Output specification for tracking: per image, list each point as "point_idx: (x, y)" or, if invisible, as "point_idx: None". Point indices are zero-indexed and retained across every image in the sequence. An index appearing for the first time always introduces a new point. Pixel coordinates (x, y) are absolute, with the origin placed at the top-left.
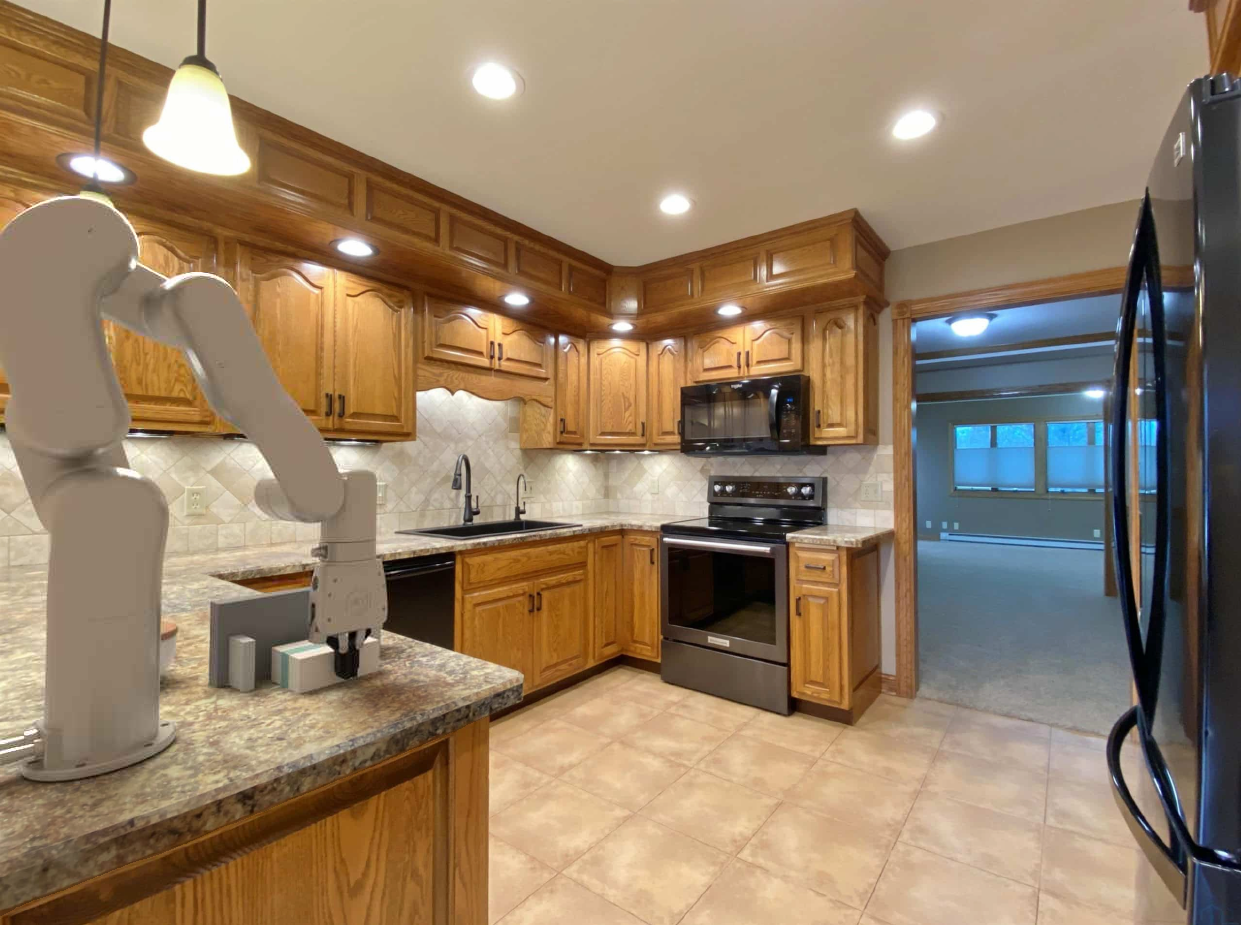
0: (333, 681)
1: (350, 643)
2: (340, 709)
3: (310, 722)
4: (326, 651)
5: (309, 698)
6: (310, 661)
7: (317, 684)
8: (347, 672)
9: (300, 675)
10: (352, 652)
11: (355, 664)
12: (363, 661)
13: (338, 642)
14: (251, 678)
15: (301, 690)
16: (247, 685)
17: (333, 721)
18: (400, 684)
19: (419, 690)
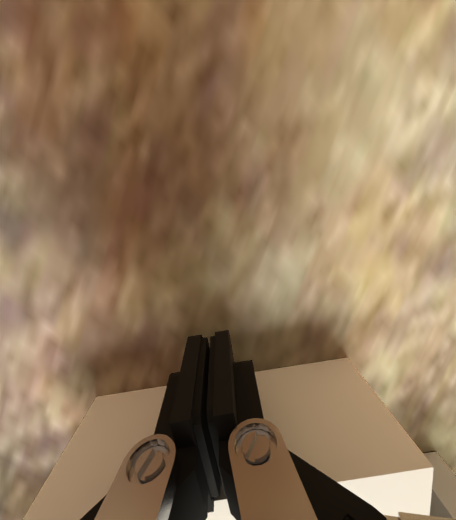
0: None
1: (190, 506)
2: (316, 131)
3: (434, 82)
4: None
5: (342, 302)
6: (366, 450)
7: (297, 374)
8: (228, 342)
9: (377, 401)
10: (200, 418)
11: (192, 364)
12: (134, 428)
13: (307, 501)
14: (441, 489)
15: (344, 363)
16: (436, 468)
17: (381, 24)
18: (66, 224)
19: (17, 103)
